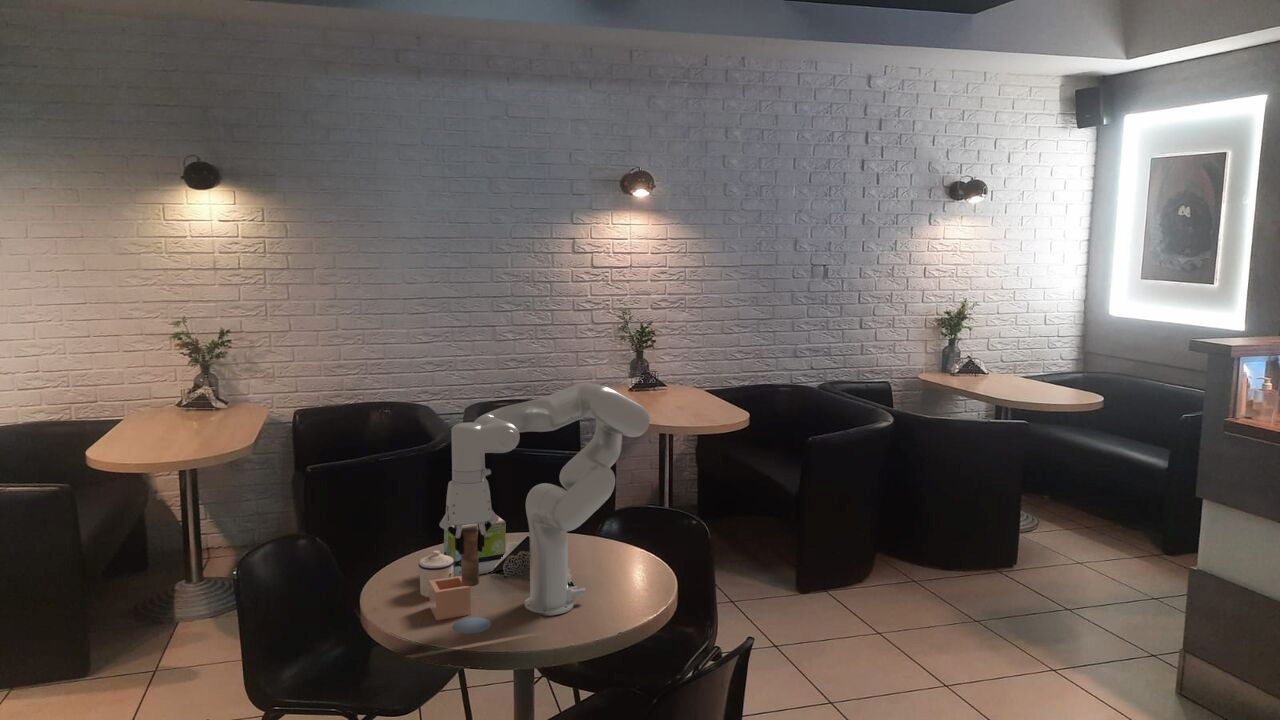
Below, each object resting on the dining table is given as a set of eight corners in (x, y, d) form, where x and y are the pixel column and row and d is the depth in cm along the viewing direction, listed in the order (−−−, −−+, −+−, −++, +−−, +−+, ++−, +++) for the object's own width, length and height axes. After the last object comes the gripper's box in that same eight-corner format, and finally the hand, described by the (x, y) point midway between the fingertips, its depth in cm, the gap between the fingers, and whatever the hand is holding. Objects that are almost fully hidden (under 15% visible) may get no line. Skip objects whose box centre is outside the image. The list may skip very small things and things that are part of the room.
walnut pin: (476, 579, 210) (475, 526, 209) (480, 584, 207) (479, 531, 205) (460, 581, 209) (459, 528, 207) (463, 587, 205) (463, 533, 204)
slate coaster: (485, 618, 215) (485, 614, 215) (495, 632, 207) (495, 629, 207) (449, 624, 212) (449, 621, 211) (457, 639, 203) (457, 636, 203)
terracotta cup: (463, 604, 223) (462, 575, 222) (470, 617, 215) (470, 587, 214) (429, 610, 220) (429, 580, 219) (436, 623, 212) (435, 592, 211)
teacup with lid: (453, 599, 226) (452, 556, 225) (417, 601, 225) (416, 558, 224) (456, 582, 238) (455, 541, 237) (422, 584, 237) (421, 542, 235)
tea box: (455, 580, 240) (453, 528, 238) (443, 569, 248) (442, 518, 246) (506, 570, 247) (506, 520, 245) (494, 559, 256) (493, 510, 254)
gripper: (499, 468, 211) (500, 542, 214) (429, 475, 205) (431, 551, 207) (507, 476, 205) (508, 551, 207) (435, 483, 198) (437, 561, 200)
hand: (469, 550), depth 207 cm, fingers closed on walnut pin, 4 cm apart
